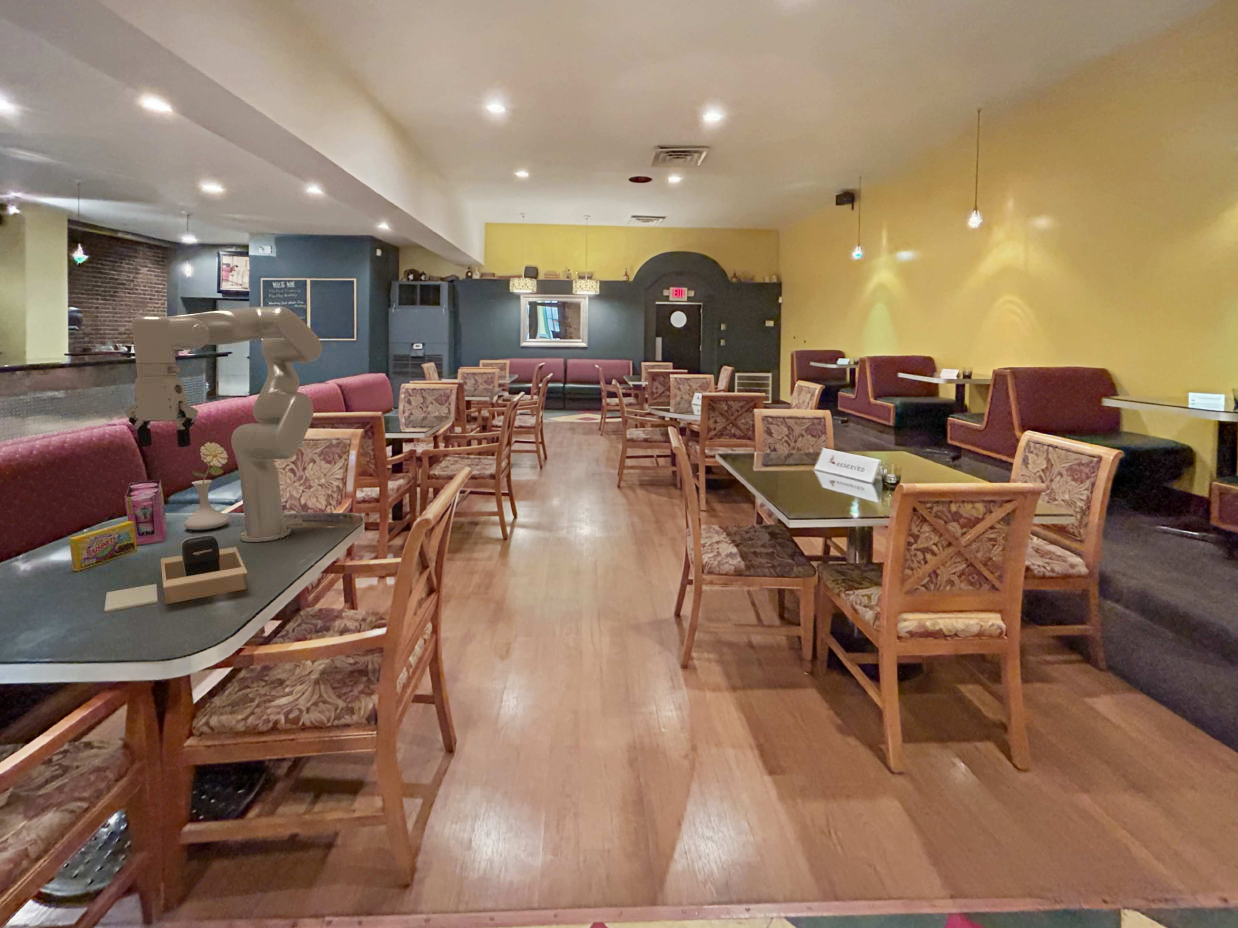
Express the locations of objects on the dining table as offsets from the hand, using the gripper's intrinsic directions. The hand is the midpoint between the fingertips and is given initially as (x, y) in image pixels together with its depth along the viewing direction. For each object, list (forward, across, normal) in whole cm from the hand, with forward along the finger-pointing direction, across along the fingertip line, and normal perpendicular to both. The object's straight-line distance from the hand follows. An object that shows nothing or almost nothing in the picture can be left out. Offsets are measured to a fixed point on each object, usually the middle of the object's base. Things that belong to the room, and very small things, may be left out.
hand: (164, 446), depth 160 cm
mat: (+31, -3, +17) cm, 35 cm away
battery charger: (+31, -14, +9) cm, 35 cm away
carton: (+30, -14, +9) cm, 35 cm away
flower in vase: (+29, +18, -37) cm, 50 cm away
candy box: (+30, +24, -6) cm, 39 cm away
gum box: (+30, +31, -29) cm, 52 cm away
